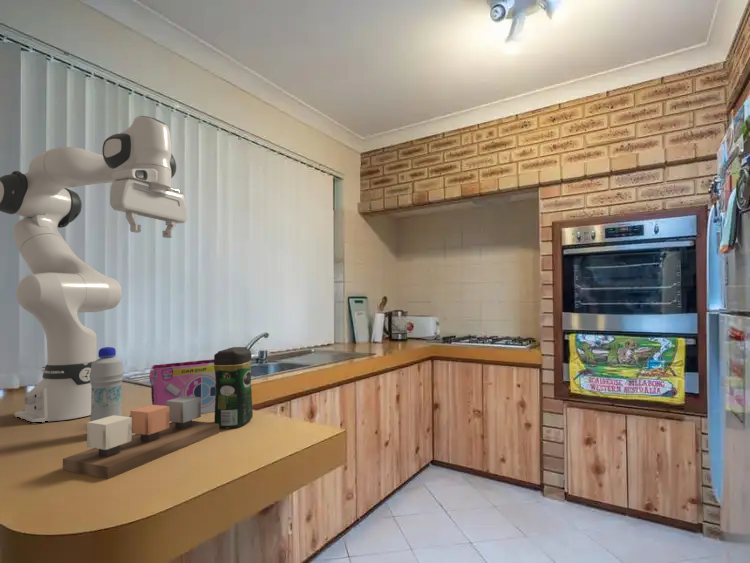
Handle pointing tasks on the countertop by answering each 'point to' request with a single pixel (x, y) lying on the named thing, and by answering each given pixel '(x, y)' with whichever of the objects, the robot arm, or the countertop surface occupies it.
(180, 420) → the slate-grey button
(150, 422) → the terracotta button
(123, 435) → the cream button
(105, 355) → the bottle
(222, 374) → the coffee jar
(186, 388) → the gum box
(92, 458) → the button board
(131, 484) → the countertop surface
